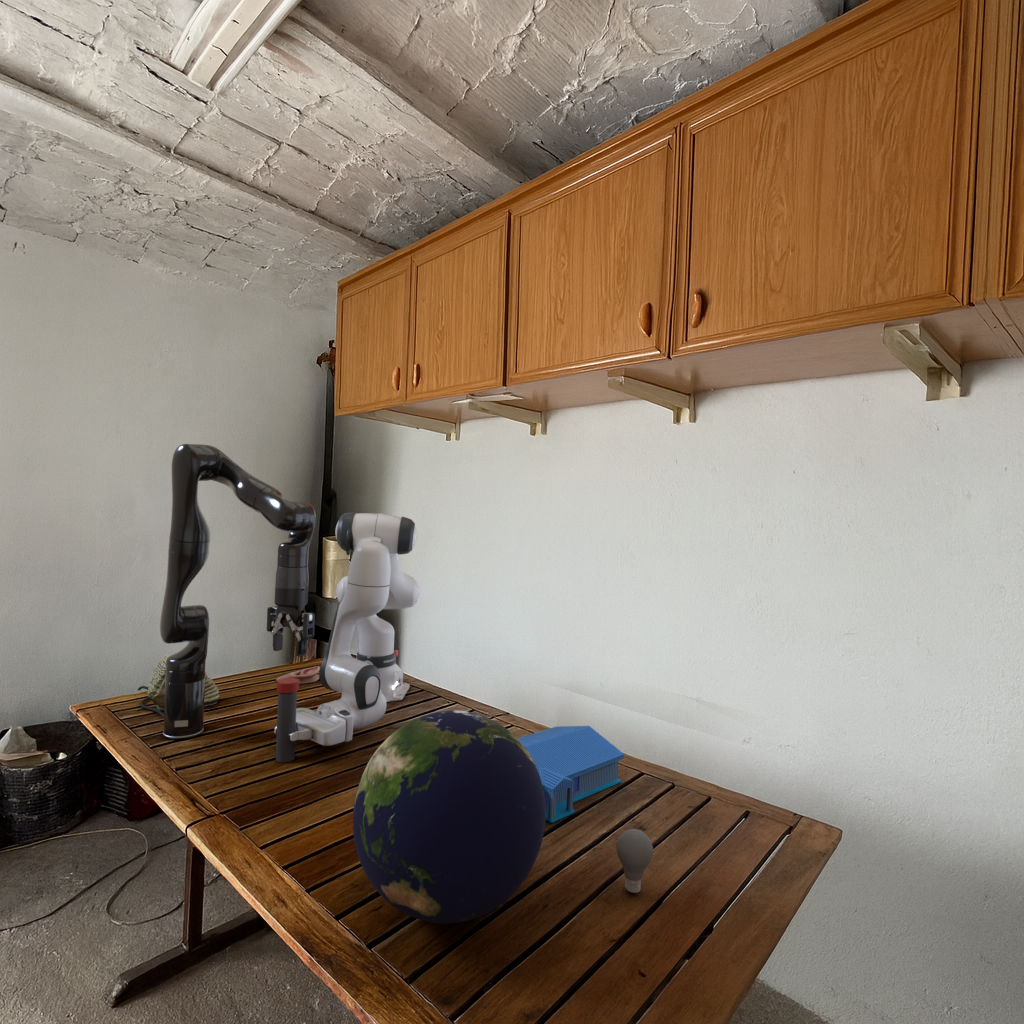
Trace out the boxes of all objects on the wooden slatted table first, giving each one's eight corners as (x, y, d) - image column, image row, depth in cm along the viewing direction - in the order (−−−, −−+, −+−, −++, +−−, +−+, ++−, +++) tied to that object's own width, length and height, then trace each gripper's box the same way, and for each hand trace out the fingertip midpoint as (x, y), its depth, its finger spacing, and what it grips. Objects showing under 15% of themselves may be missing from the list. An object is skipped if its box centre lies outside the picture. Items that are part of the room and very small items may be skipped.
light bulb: (610, 879, 108) (613, 822, 108) (644, 879, 109) (647, 822, 109) (619, 902, 102) (622, 840, 102) (655, 901, 103) (658, 840, 103)
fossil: (144, 707, 182) (145, 655, 182) (212, 696, 194) (213, 647, 194) (151, 716, 175) (153, 662, 175) (221, 703, 188) (223, 653, 188)
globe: (306, 934, 92) (314, 729, 91) (413, 836, 119) (420, 678, 119) (495, 1005, 80) (505, 771, 80) (565, 878, 108) (573, 704, 108)
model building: (505, 843, 118) (507, 790, 118) (429, 794, 136) (431, 748, 136) (632, 786, 145) (634, 743, 144) (555, 752, 163) (557, 713, 163)
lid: (302, 688, 154) (302, 678, 154) (292, 694, 149) (292, 684, 149) (283, 686, 154) (283, 677, 154) (272, 692, 149) (273, 682, 149)
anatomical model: (271, 670, 211) (289, 662, 222) (270, 682, 211) (289, 673, 222) (307, 674, 208) (324, 665, 220) (306, 686, 208) (324, 677, 220)
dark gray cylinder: (297, 756, 154) (300, 680, 153) (289, 763, 149) (292, 685, 149) (281, 754, 154) (284, 679, 154) (272, 761, 150) (275, 684, 150)
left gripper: (258, 583, 151) (256, 651, 152) (300, 589, 144) (297, 661, 145) (284, 580, 158) (281, 645, 158) (325, 586, 151) (322, 655, 151)
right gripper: (307, 698, 168) (259, 710, 157) (357, 716, 156) (308, 731, 145) (306, 722, 168) (258, 736, 157) (356, 742, 156) (307, 759, 145)
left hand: (289, 653), depth 151 cm, fingers open, 7 cm apart
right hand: (282, 734), depth 151 cm, fingers closed on dark gray cylinder, 4 cm apart
